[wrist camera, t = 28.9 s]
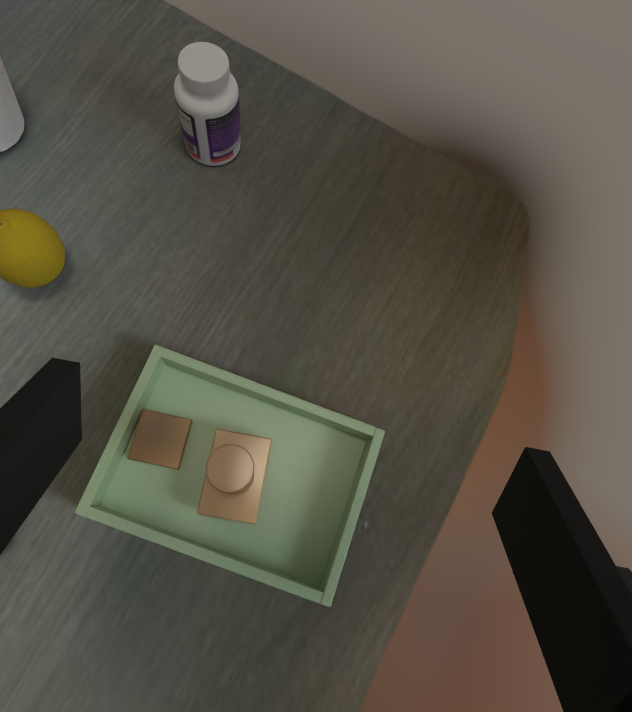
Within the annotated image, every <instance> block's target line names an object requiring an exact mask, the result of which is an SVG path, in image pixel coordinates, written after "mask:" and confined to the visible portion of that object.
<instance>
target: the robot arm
mask: <svg viewBox="0 0 632 712" xmlns="http://www.w3.org/2000/svg"><path fill="white" fill-rule="evenodd" d="M81 440H82V429H81V384H80V363H78V362H73V361H67V360H62V359H57V358H52V359H51V360H50V361H48V362H47V363H46V364H45V365H44V366H43V367H42V368H41V369H40V370H39V371H38V372H37V373H36V374H35V375H34V376H33V377H32V378H31V379H30V380H29V381H28V382H27V383H26V384H25V385H24V386H23V387H22V388H21V389H20V390H19V391H18V392H17V393H16V394H15V395H14V396H13V397H12V398H11V399H10V400H9V401H8V402H7V403H6V404H4V405H3V406H2V407H1V408H0V554H1V553H2V552H3V550H4V549H5V547H6V546H7V545H8V543H9V542H10V540H11V539H12V538H13V536H14V535H15V533H16V532H17V530H18V529H19V528H20V526H21V525H22V523H23V522H24V521H25V519H26V518H27V516H28V515H29V513H30V512H31V511H32V509H33V508H34V506H35V505H36V504H37V502H38V501H39V499H40V498H41V497H42V495H43V494H44V492H45V491H46V489H47V488H48V487H49V485H50V484H51V482H52V481H53V480H54V478H55V477H56V475H57V474H58V473H59V471H60V470H61V468H62V467H63V465H64V464H65V463H66V461H67V460H68V458H69V457H70V456H71V454H72V453H73V451H74V450H75V448H76V447H77V446H78V444H79V443H80V441H81ZM492 515H493V518H494V521H495V523H496V526H497V529H498V532H499V534H500V537H501V540H502V543H503V545H504V548H505V551H506V554H507V557H508V559H509V562H510V565H511V568H512V570H513V573H514V576H515V579H516V581H517V584H518V587H519V590H520V592H521V595H522V598H523V601H524V604H525V606H526V609H527V612H528V614H529V617H530V620H531V623H532V626H533V628H534V631H535V634H536V637H537V640H538V642H539V645H540V648H541V651H542V653H543V656H544V659H545V662H546V664H547V667H548V670H549V673H550V676H551V678H552V681H553V684H554V687H555V690H556V692H557V695H558V697H559V700H560V703H561V706H562V709H563V712H632V572H631V571H630V570H629V569H628V568H623V567H618V566H616V565H615V564H614V562H613V560H612V558H611V557H610V555H609V553H608V552H607V550H606V548H605V546H604V545H603V543H602V541H601V539H600V538H599V536H598V534H597V533H596V531H595V529H594V527H593V526H592V524H591V522H590V520H589V519H588V517H587V515H586V514H585V512H584V510H583V508H582V507H581V505H580V503H579V501H578V500H577V498H576V496H575V495H574V493H573V491H572V489H571V488H570V486H569V484H568V482H567V481H566V479H565V477H564V476H563V474H562V472H561V470H560V468H559V467H558V465H557V463H556V462H555V460H554V458H553V456H552V455H551V453H550V452H549V451H543V450H539V449H533V448H528V447H525V449H524V451H523V453H522V454H521V457H520V458H519V460H518V462H517V465H516V466H515V468H514V470H513V472H512V474H511V476H510V478H509V480H508V482H507V484H506V486H505V488H504V490H503V492H502V494H501V496H500V498H499V500H498V502H497V504H496V506H495V508H494V510H493V512H492Z"/></svg>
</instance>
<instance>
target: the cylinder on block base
mask: <svg viewBox="0 0 632 712" xmlns="http://www.w3.org/2000/svg"><path fill="white" fill-rule="evenodd" d="M271 442H272V439H270V438H264V437H259V436H253V435H248V434H243V433H237V432H232V431H226V430H221V429H216V431H215V435H214V440H213V444H212V449H211V453H210V457H209V459H208V461H207V464H206V475H205V480H204V484H203V489H202V493H201V497H200V502H199V506H198V511H197V514H199V515H205V516H211V517H216V518H222V519H228V520H234V521H240V522H245V523H251V524H256V520H257V515H258V510H259V504H260V499H261V494H262V489H263V484H264V478H265V473H266V468H267V463H268V457H269V452H270V447H271Z"/></svg>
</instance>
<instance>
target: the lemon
mask: <svg viewBox="0 0 632 712" xmlns="http://www.w3.org/2000/svg"><path fill="white" fill-rule="evenodd" d="M64 263H65V250H64V246H63V243H62V241H61V239H60V237H59V236H58V234H57V232H56V231H55V230H54V229H53V228H52V227H51V226H50V225H49V224H48V223H47V222H46V221H45V220H43V219H42V218H40V217H39V216H37V215H35V214H33V213H31V212H28V211H24V210H21V209H6V210H2V211H0V277H1V278H3V279H4V280H6V281H8V282H10V283H12V284H15V285H17V286H22V287H39V286H43V285H46V284H48V283H50V282H52V281H53V280H54V279H55V278H56V277H58V275H59V274H60V272H61V271H62V269H63V266H64Z"/></svg>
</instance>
